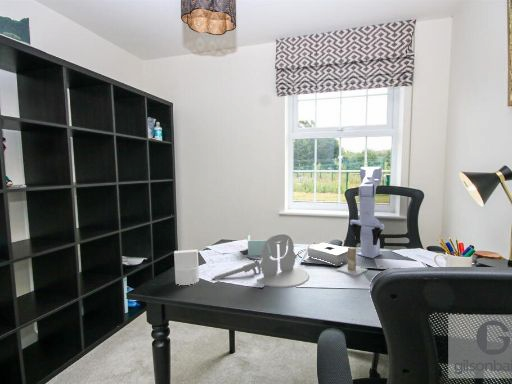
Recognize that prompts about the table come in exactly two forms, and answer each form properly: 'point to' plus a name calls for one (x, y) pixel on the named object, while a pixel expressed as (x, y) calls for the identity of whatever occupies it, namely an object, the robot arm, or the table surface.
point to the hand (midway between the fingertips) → (366, 243)
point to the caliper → (241, 270)
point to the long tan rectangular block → (352, 258)
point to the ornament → (281, 264)
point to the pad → (350, 272)
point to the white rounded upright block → (186, 267)
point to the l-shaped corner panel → (256, 247)
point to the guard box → (329, 253)
